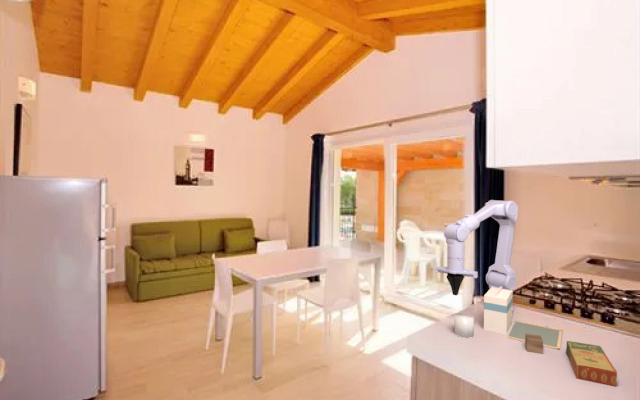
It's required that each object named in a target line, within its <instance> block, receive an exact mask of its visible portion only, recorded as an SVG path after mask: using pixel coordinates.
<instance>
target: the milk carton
mask: <svg viewBox="0 0 640 400" xmlns="http://www.w3.org/2000/svg"><path fill="white" fill-rule="evenodd" d="M513 294H514V290H513V291H512V290H506V289H502V287H501V286H500V287H499V288H493V287H491V288H489V289H488V291H487V292H486V293H485V294H484V296H483V330H484V331H487V332H488V331H489V332H493V333H498V334H502V335H507V334H508V332H509V330H510V328H511V327H512V326H513V325H512V324H513V312H512V308H513V304H514V303H513V302H514V300H513V299H514V297H513Z"/></svg>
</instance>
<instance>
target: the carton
mask: <svg viewBox="0 0 640 400" xmlns="http://www.w3.org/2000/svg"><path fill="white" fill-rule="evenodd" d="M565 353H566V356H567V357H568V360H569V363H570V366H571V368H572V370H573V374H574V376H575V379H577V380H582V381H587V382H590V383H597V384H600V385H605V386H606V385H607V386H610V387H614V388H615V387H617V380H618V379H617V378H618V372H617V370H616V368H615V367H614V366H613V363H612V362H611V361H610V359H609V358H608V356H607V354H606V353H605V351H604V350H603V348H602V347H601V346H600V345H596V344H590V343H582V342H579V341H578V342H576V341H571V340H570V341H569V340H566V349H565Z"/></svg>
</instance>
